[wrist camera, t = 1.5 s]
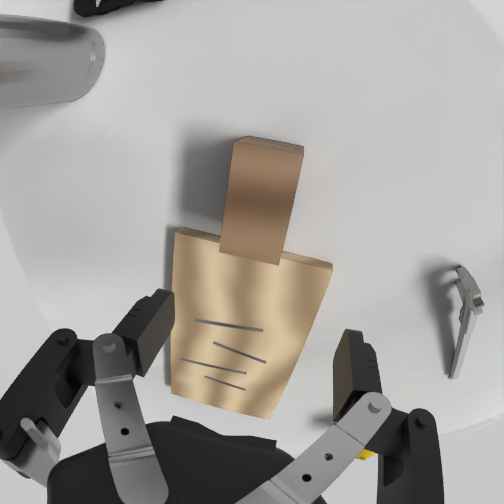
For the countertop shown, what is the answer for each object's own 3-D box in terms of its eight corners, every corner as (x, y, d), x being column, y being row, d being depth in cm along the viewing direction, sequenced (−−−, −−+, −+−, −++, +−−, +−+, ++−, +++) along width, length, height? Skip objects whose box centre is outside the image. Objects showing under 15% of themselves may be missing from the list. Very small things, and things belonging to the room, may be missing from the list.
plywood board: (174, 386, 44) (171, 393, 42) (180, 226, 31) (175, 232, 29) (271, 412, 43) (269, 419, 41) (332, 263, 30) (333, 270, 28)
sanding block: (284, 236, 29) (278, 265, 24) (234, 225, 30) (218, 252, 25) (303, 146, 25) (303, 155, 20) (248, 135, 26) (234, 141, 20)
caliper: (453, 265, 28) (477, 297, 22) (461, 263, 27) (485, 293, 22) (449, 377, 35) (459, 408, 29) (455, 375, 35) (466, 406, 29)
